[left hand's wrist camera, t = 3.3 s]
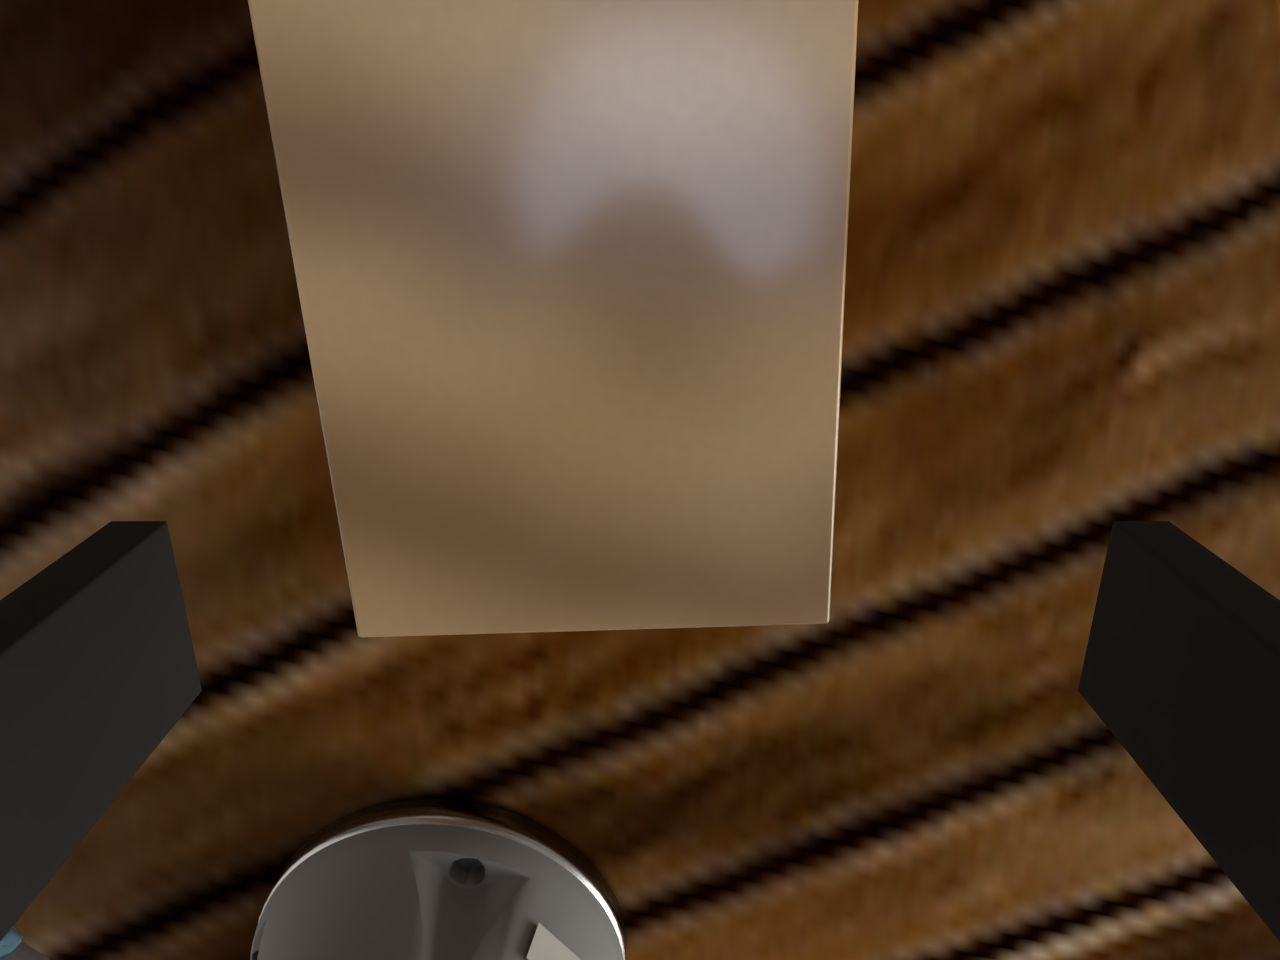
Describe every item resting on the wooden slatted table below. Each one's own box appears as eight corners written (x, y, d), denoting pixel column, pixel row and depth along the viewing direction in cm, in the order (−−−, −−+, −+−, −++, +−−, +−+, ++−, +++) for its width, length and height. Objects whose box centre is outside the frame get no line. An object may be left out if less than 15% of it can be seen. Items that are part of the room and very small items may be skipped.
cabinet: (381, -187, 23) (165, -458, 13) (774, -205, 23) (883, -493, 13) (458, 464, 30) (357, 639, 19) (764, 454, 30) (830, 625, 19)
